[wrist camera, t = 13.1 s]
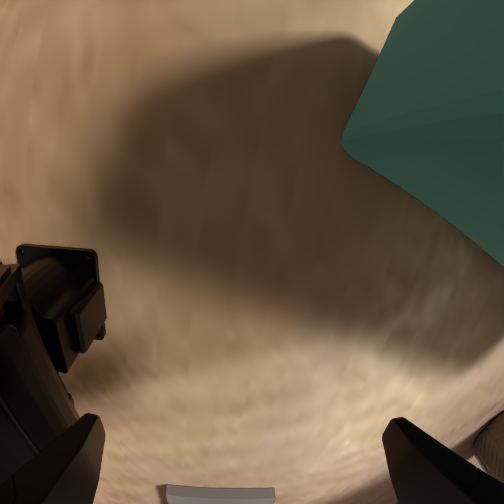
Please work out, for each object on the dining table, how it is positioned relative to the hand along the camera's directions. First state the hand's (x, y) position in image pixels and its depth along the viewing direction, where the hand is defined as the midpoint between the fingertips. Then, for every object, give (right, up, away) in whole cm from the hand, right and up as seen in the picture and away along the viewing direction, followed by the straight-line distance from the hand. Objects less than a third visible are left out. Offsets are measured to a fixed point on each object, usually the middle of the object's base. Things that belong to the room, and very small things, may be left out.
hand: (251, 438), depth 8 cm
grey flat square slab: (-4, -26, +21) cm, 34 cm away
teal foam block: (+20, +10, +11) cm, 25 cm away
